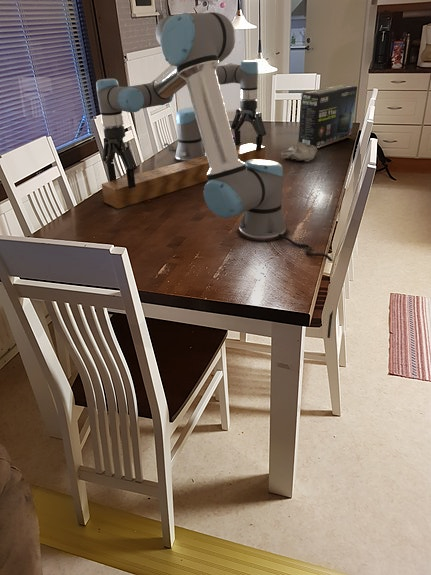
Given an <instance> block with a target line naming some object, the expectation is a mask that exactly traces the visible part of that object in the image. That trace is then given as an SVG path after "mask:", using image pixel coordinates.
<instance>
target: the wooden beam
mask: <svg viewBox="0 0 431 575" xmlns="http://www.w3.org/2000/svg"><path fill="white" fill-rule="evenodd" d="M235 147H236V151H237V155H238V159H239V160H240V161H242V162H244V163H245V162H246V161H247V160H253V159H261V160H266V146H264V145H261V150H260V151H256V143H251V142H250V143H246V144H241V145H237V146H235ZM209 168H210V166H209V163H208V159H207V156H206V155H205V156H202V157H198V158H194V159H191V160H187V161H183V162H180V161H179V162H175V163H172V164H169V165H165V166H161V167H158V168H154V169H150V170H147V171H144V172H139V173H136V174H134V177H135V185H136V187H134V188H130V189H129V188H128V181H127V176H125V177H121V178H117V180H114V181H110V180H109V181H107V182H103V183H101V189H102V195H103V202H104V203H105V204H106V205H109V206H111V207H113V208H116V209H118V210H119V209H121V208H126V207H128V206H132V205H134V204H138V203H141V202H144V201H147V200H150V199H154V198H158V197H160V196H163V195H166V194H170V193H172V192H176V191H179V190H182V189H185V188H189V187H192V186H195V185H198V184H201V183H204V182H205V183H206V182H208V179H207V175H206V174H207V172H208V170H209Z"/></svg>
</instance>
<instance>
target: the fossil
mask: <svg viewBox="0 0 431 575" xmlns="http://www.w3.org/2000/svg"><path fill="white" fill-rule="evenodd" d="M316 152H317V153H318V149H317V147H315V146H314V145H308V144H307V143H303V142H298V141H297V143H296V145H291V146H289V148H288V149H284V150H282V151H281V152H280V156H281V158H282V159H284V160H289V159H291V158H292V159H291V160H293V159H297V160H296V161H303V160H309V161H303V162H304V163H309V162H310V161H312V160H314V158H315V156H316V155H317V153H316ZM282 156H288V157H290V158H283V157H282Z"/></svg>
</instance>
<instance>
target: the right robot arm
mask: <svg viewBox="0 0 431 575" xmlns="http://www.w3.org/2000/svg"><path fill="white" fill-rule="evenodd" d="M169 17H170V18H169V19H168V20H167V21H166V23H165V25H164V27H163V32H162V34H161V45H160V48H161V53H162V56H163V58H164V60H165V61H166V62H167V63H168V65H169V66H167V68H165V70H163V72H161V73H160V74H159V75H158V76H157V77H156V78H155V79H153V80H152V81H151V82H148V83H147V82H146V83H141V84H135V85H127V86H120V85H119V81H118V80H117V79H116V78H102V79H98V80H97V81H96V82H95V86H96V95H97V100H98V107H99V111H100V118H101V123H102V124H101V125H102V127H103V136H104V137H103V150H102V162H105V164H106V168H107V174H108V179H109V182H110V181H114V180H118V178H117V172H116V168H115V161H114V160H115V156H116V154H117V156H119V158H120V159H121V161H122V163H123V165H124V167H125V169H126V170H125V174H126V177H127V181H128V188H129V189H130V188H134V187H136V185H135V177H134V175H135V170H137V169H138V166H137V164H136V161H135V159H134V155H133V153H132V150H131V147H130V143H129V141H124V138H125V137H126V129H125V126H124V123H125V122H124V115H123V112H126V113H130V114H131V113H138V112H139V111H140V110H143V109H147V108H152V107H153V108H154V107H157V106H164V105H167V104H169V103H171V102H172V101H173V98H174V95H175V94H176V93H177V92H179V91H180V90H181V89H182V88H185V87H187V92H188V94H189V99H190V102H191V105H192V106H191V107H193V109H194V113H195V116H196V120H197V123H198V127H199V131H200V134H201V139H202V144H203V147H204V150H205V152H206V156H207V159H208V163H209V166H210V168H209V170H208V172H207V174H206V175H207V179H208V181H206V184H204V187H203V189H204V190H203V199H204V202H205V204H206V206H207V207H208V209H209V210H210V212H212V213H213V214H215V215H216V216H217V217H219V218H221V219H230V218H233V217H237V216H240V215H241V214H242V216H241V220H240V222H239V225H238V232H239V235H240V236H241V237H242V238H244V239H247V240H250V241H254V242H271V241H277V240H279V239H281V238H282V239H284V240H285V241H287V242H288V243H290V244H292V245H293V246H296V247H301V248H303V247H304V248H307V249H306V254H307V255H309V256H311V257H323V258H326V259H327V260H328V261H329V262H333V259H332V258H331V257H330V256H329V255H328V254H326V253H323V252H311V249H312V246H311V245H310V244H306V243H297V242H295V241H294V240H292V239H291V238H290V237H287V236H286V234H287V223H286V221H285V216H284V214H283V210H282V200H283V183H284V180H283V179H284V174H283V173H284V172H283V171H284V169H283V165H282V164H281V163H280V162H278V161H274V160H270V159H265V160H261V159H253V160H247V161H246V162H245V163H244V162H242V161H240V160H239V159H238V155H237V151H236V147H237V146H235V139H233V136H232V133H233V132H232V129H231V124H230V120H229V117H228V114H227V108H226V105H225V101H224V97H223V94H222V90H221V85H219V82H218V78H217V74H216V68H217V67H218V66H220V64H221V62H223V61H224V60H225V59H227V58H228V57H229V56H230V55H231V53H232V52H233V50H234V48H235V44H236V38H237V36H236V30H235V27H234V25H233V23H232V21H231V20H230V19H229V18H228V17H227V16H225V14H222V13H219V12H214V11H213V12H192V13H191V12H190V13H189V12H182V13H178V14H174V15H171V16H169ZM333 314H334V310H332V311H331V313H330V314H329V317H328V325H327V326H328V327H327V339H330V338H331V331H332V321H333Z"/></svg>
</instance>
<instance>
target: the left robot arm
mask: <svg viewBox="0 0 431 575" xmlns="http://www.w3.org/2000/svg"><path fill="white" fill-rule="evenodd" d="M170 17H171V16H166V17H163V18H161V19H160V20H159V21H158V22H157V24H156V27H155V38H156V41H157V43H158V44H159V46H161V34H162V32H163V27H164V25H165V23H166V21H167V20H168V19H169V18H170ZM216 74H217V78H218V82H219V86H221V85H228V84H240V93H239V94H240V96H239V97H240V101H239V108H237V109H235V115H234V117H233V121H232V123H231V125H230V128H231V130H233V131H234V133H233V134H234V137H235V139H234V143H235V147H238V146H241V143H240V141H241V128H242V126H243V124H244V123H245V122H247V123H250V124H251V125H252V127H253V129H254V131H255V133H256V136H255V145H256V151H260V150H261V146H262V144H263V137H265V136H267V131H266V127H265V123H264V120H263V116H262V112H261V111H259V112H257V109H258V87H259V86H258V85H259V84H258V83H259V63H258V61H257V60H254V59H246V60H242V61H241V62H240V64H237V63H236V64H235V63H231V62H230V63H224V64H223V65H218V67H217V68H216ZM175 122H176V133H177V136H176V137H177V145H176V149H175V148H173V146H172V145H171V144H169V143H167V142H165V143H164V144H163V147H166V146H168V147H169V150H170V151H172V152H175V157H174V158H175V160H176V161H178V162H179V163H180V162H183V161H187V160H191V159H194V158H198V157H202V156H205V155H206V152H205V149H204V145H203V141H202V138H201V134H200V131H199V127H198V123H197V120H196V116H195V113H194V109H193V106H186V107H183V108H180V109H178V110H177V111H176V114H175Z"/></svg>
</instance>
